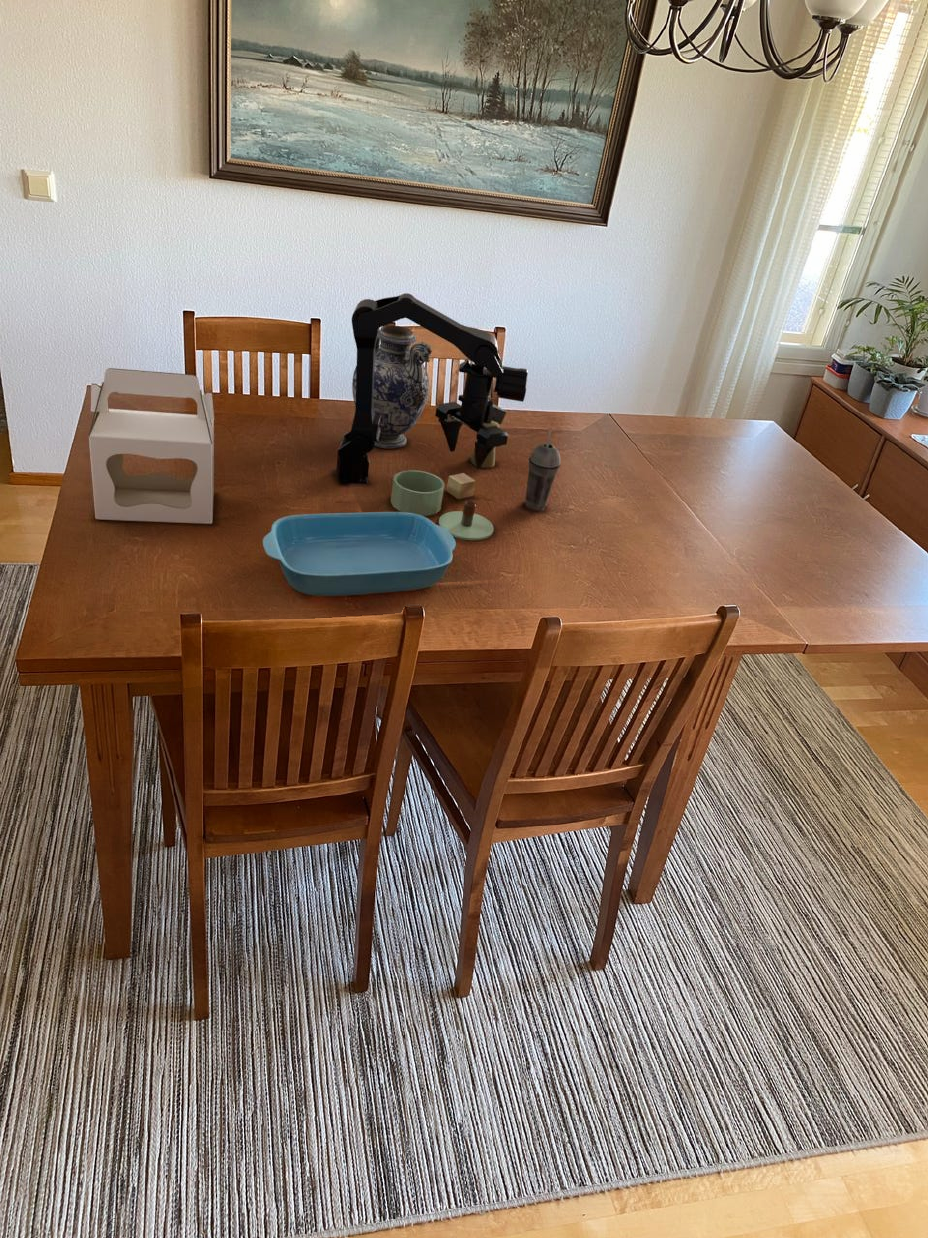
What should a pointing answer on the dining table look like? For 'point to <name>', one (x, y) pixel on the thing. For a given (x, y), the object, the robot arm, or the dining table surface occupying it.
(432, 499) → the pot
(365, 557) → the casserole dish
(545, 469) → the beverage cup
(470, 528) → the lid
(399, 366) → the decorative vase
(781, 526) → the dining table surface
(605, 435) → the dining table surface
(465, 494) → the block
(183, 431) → the gable box
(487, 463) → the pepper mill
